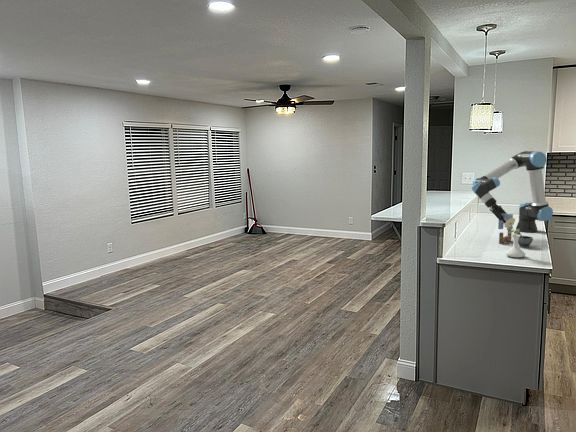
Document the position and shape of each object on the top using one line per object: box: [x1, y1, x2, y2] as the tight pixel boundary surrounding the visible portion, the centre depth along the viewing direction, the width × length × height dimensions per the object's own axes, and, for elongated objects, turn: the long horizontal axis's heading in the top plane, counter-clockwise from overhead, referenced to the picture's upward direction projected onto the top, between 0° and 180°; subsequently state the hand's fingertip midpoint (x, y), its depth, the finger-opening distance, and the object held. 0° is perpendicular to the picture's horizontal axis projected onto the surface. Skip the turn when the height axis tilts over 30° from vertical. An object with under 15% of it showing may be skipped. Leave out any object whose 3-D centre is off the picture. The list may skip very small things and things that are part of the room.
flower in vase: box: [503, 217, 526, 258], centre depth 272 cm, size 13×11×25 cm
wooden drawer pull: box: [498, 230, 513, 245], centre depth 312 cm, size 15×2×8 cm, turn 129°
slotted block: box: [497, 213, 514, 231], centre depth 311 cm, size 4×8×11 cm, turn 39°
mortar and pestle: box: [514, 229, 534, 249], centre depth 297 cm, size 11×9×12 cm
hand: (510, 225), depth 308 cm, fingers closed on slotted block, 4 cm apart
